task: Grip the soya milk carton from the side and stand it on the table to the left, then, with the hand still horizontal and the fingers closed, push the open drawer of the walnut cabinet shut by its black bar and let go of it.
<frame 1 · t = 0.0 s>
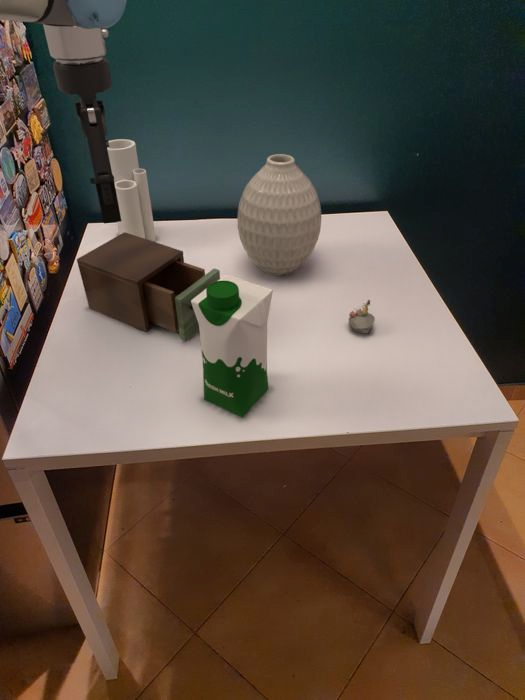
hand: (108, 204, 85), 19 cm above the table, tool pointing down, fingers open, 13 cm apart
drawer: (183, 298, 88), point 5 cm above the table, slide at 7.0 cm
vase: (278, 267, 107), on the table
soya milk: (237, 395, 78), on the table
vase 2: (138, 239, 116), on the table
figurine: (360, 328, 91), on the table
cabinet: (139, 304, 96), on the table
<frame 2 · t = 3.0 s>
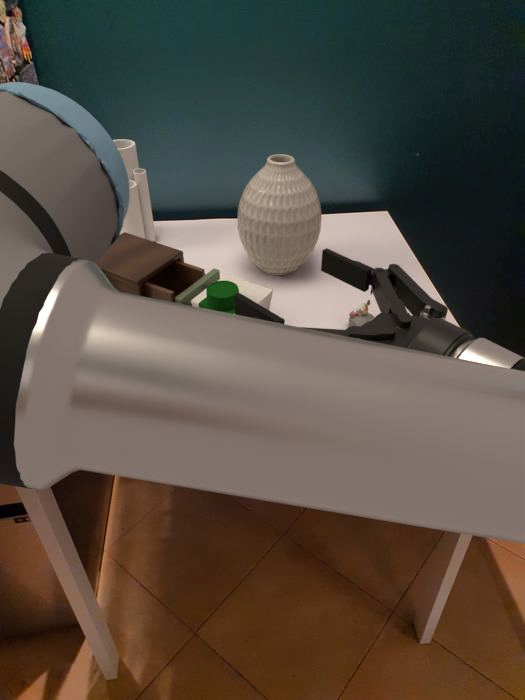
hand: (282, 280, 57), 24 cm above the table, tool horizontal, fingers open, 13 cm apart
nothing on the table moved.
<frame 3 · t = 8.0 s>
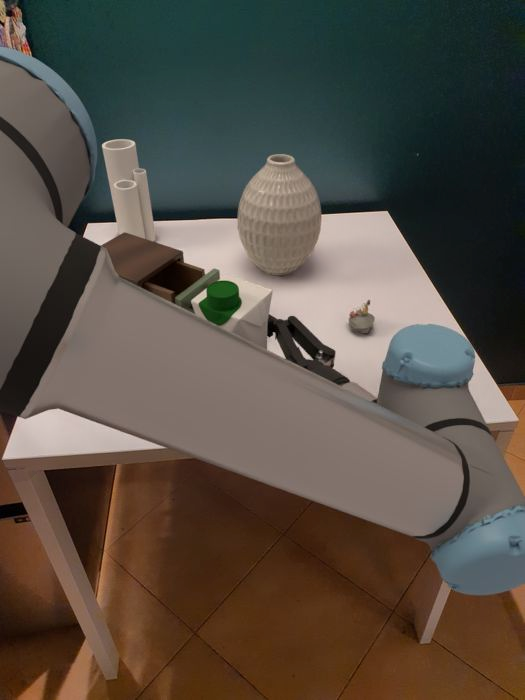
hand: (214, 322, 73), 11 cm above the table, tool horizontal, fingers closed on soya milk, 9 cm apart
soya milk: (237, 395, 78), on the table, touching gripper
everything else where it was.
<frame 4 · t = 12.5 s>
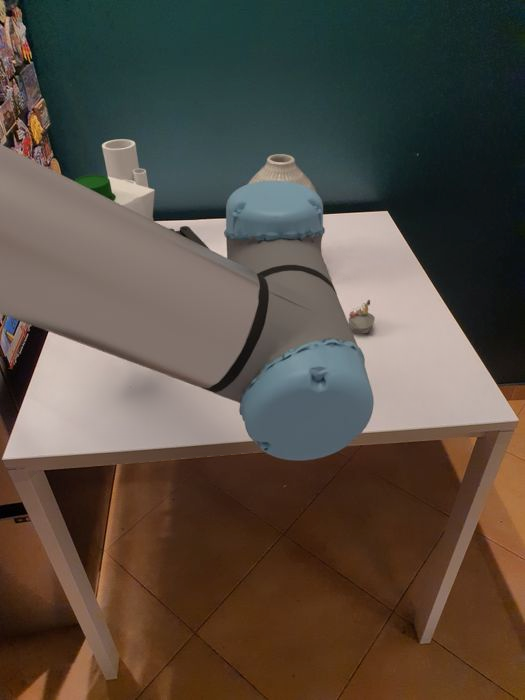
hand: (100, 234, 67), 24 cm above the table, tool horizontal, fingers closed on soya milk, 9 cm apart
soya milk: (132, 319, 71), point 13 cm above the table, touching gripper
everything else where it was.
when the fingers open (11 cm above the table, at t = 17.3 s): soya milk stays where it is, on the table.
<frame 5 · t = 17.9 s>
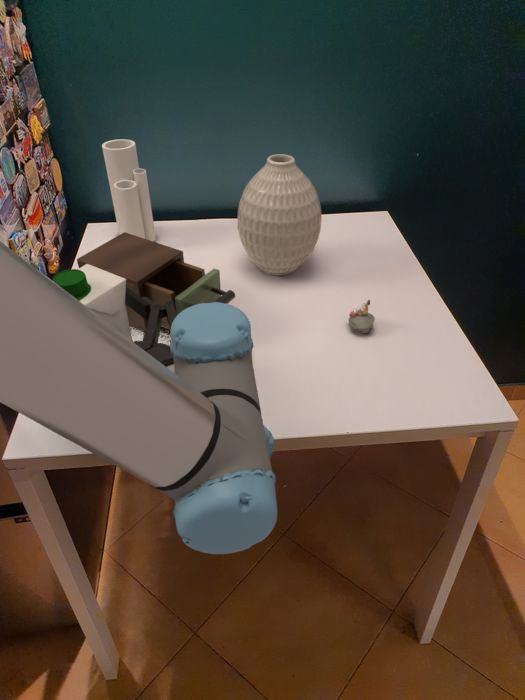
hand: (83, 311, 74), 12 cm above the table, tool horizontal, fingers open, 13 cm apart
soya milk: (110, 383, 80), on the table
everything else where it was.
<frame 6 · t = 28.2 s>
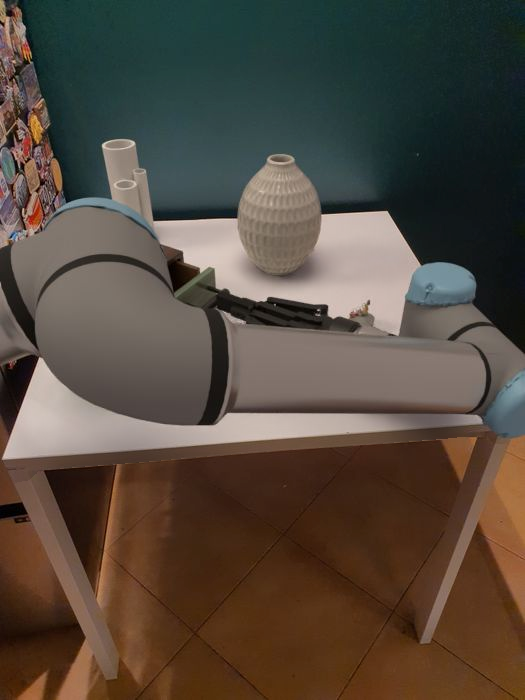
hand: (219, 300, 84), 8 cm above the table, tool horizontal, fingers closed
drawer: (178, 296, 89), point 5 cm above the table, slide at 6.0 cm
everything else where it was.
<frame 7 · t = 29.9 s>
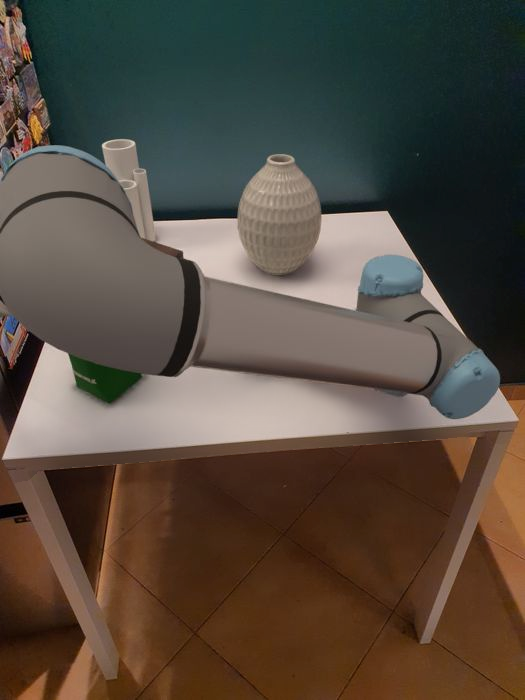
hand: (190, 293, 87), 7 cm above the table, tool horizontal, fingers closed
drawer: (151, 286, 91), point 5 cm above the table, slide at 0.0 cm, touching cabinet, gripper
everything else where it was.
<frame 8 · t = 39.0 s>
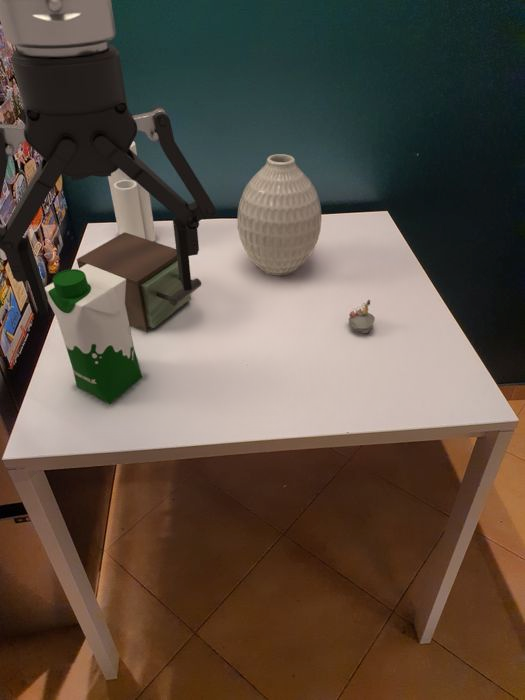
hand: (116, 294, 51), 27 cm above the table, tool pointing down, fingers open, 13 cm apart
drawer: (151, 286, 91), point 5 cm above the table, slide at 0.0 cm, touching cabinet
everything else where it was.
at the end: drawer slide at 0.0 cm; soya milk inside the target area (0.1 cm from its centre), on the table; soya milk tilted 0° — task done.
